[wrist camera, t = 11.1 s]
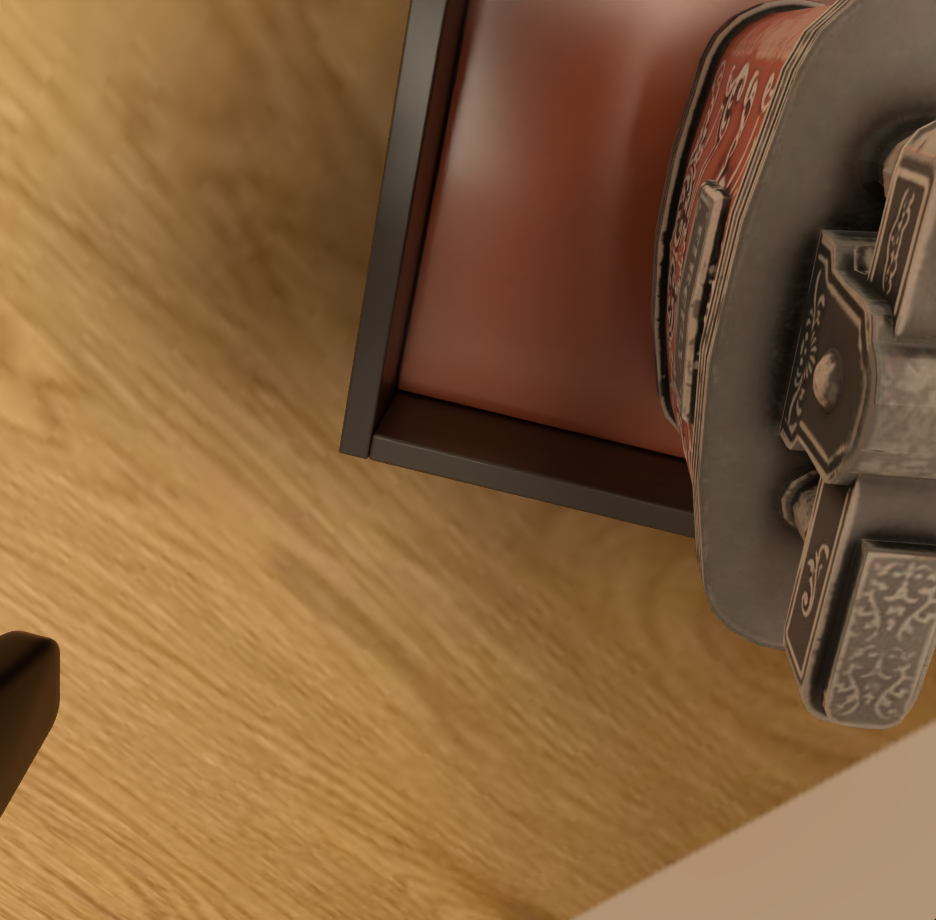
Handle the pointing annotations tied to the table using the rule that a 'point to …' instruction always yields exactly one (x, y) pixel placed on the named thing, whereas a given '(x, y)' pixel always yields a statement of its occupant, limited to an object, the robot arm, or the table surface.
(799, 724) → the table surface
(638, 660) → the table surface
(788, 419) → the lighter
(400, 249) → the divided tray
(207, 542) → the table surface
